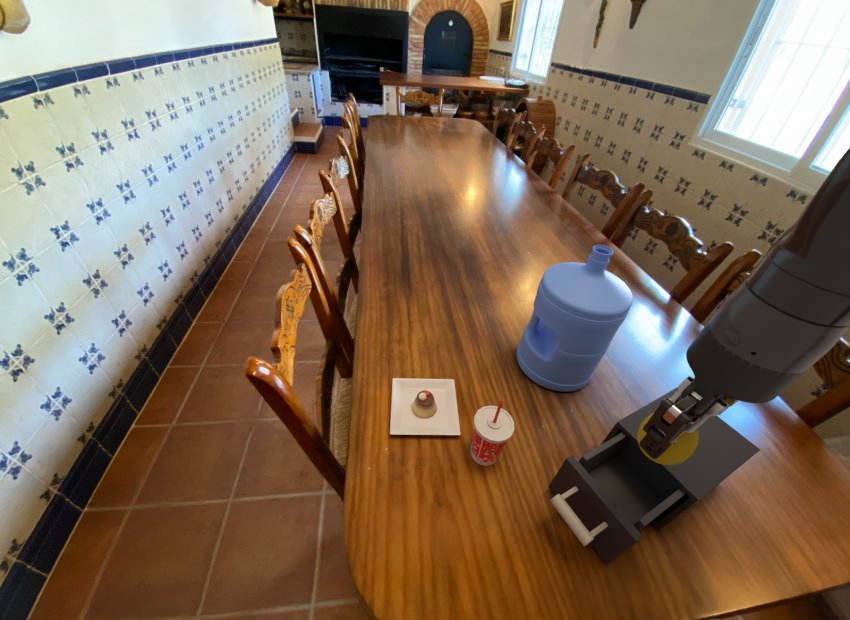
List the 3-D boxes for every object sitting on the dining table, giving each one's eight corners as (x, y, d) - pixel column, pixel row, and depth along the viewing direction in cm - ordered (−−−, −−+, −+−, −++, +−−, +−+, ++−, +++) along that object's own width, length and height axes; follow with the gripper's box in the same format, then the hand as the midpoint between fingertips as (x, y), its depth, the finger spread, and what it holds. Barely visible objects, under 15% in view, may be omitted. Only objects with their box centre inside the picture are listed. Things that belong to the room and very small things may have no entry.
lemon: (618, 436, 46) (646, 398, 41) (657, 433, 47) (690, 396, 42) (642, 478, 42) (677, 442, 37) (685, 475, 43) (725, 439, 38)
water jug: (587, 348, 81) (645, 237, 63) (592, 403, 69) (665, 286, 51) (518, 331, 83) (555, 220, 65) (511, 381, 72) (553, 263, 54)
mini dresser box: (584, 583, 46) (611, 562, 40) (526, 500, 53) (542, 472, 48) (672, 512, 53) (706, 486, 48) (611, 448, 61) (633, 418, 55)
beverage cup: (509, 452, 60) (530, 402, 51) (488, 478, 56) (507, 430, 47) (479, 429, 63) (495, 378, 54) (458, 452, 59) (471, 402, 50)
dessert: (453, 382, 70) (456, 366, 67) (459, 438, 61) (463, 422, 58) (392, 381, 70) (392, 365, 67) (389, 437, 60) (389, 422, 57)
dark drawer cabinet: (658, 530, 52) (699, 500, 45) (591, 456, 60) (617, 421, 54) (717, 482, 58) (760, 449, 52) (649, 421, 67) (679, 385, 60)
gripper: (765, 399, 26) (654, 498, 37) (845, 342, 32) (729, 442, 43) (670, 334, 31) (597, 438, 42) (755, 295, 37) (671, 395, 48)
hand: (664, 439), depth 42 cm, fingers closed on lemon, 5 cm apart
